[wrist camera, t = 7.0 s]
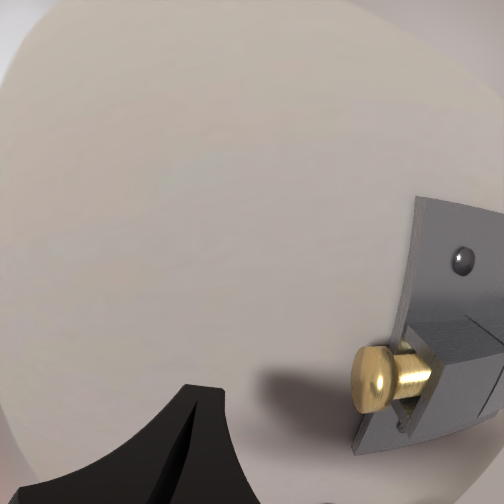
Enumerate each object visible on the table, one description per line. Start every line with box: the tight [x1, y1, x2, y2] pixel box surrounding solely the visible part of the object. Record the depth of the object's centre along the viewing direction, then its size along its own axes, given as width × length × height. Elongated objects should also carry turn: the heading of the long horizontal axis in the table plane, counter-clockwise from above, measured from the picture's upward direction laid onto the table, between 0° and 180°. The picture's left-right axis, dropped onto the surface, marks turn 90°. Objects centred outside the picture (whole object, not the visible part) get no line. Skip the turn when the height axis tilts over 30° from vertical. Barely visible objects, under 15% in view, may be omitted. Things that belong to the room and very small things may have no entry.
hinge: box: [351, 196, 504, 456], centre depth 9 cm, size 14×12×4 cm
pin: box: [351, 346, 432, 413], centre depth 9 cm, size 3×14×3 cm, turn 87°
